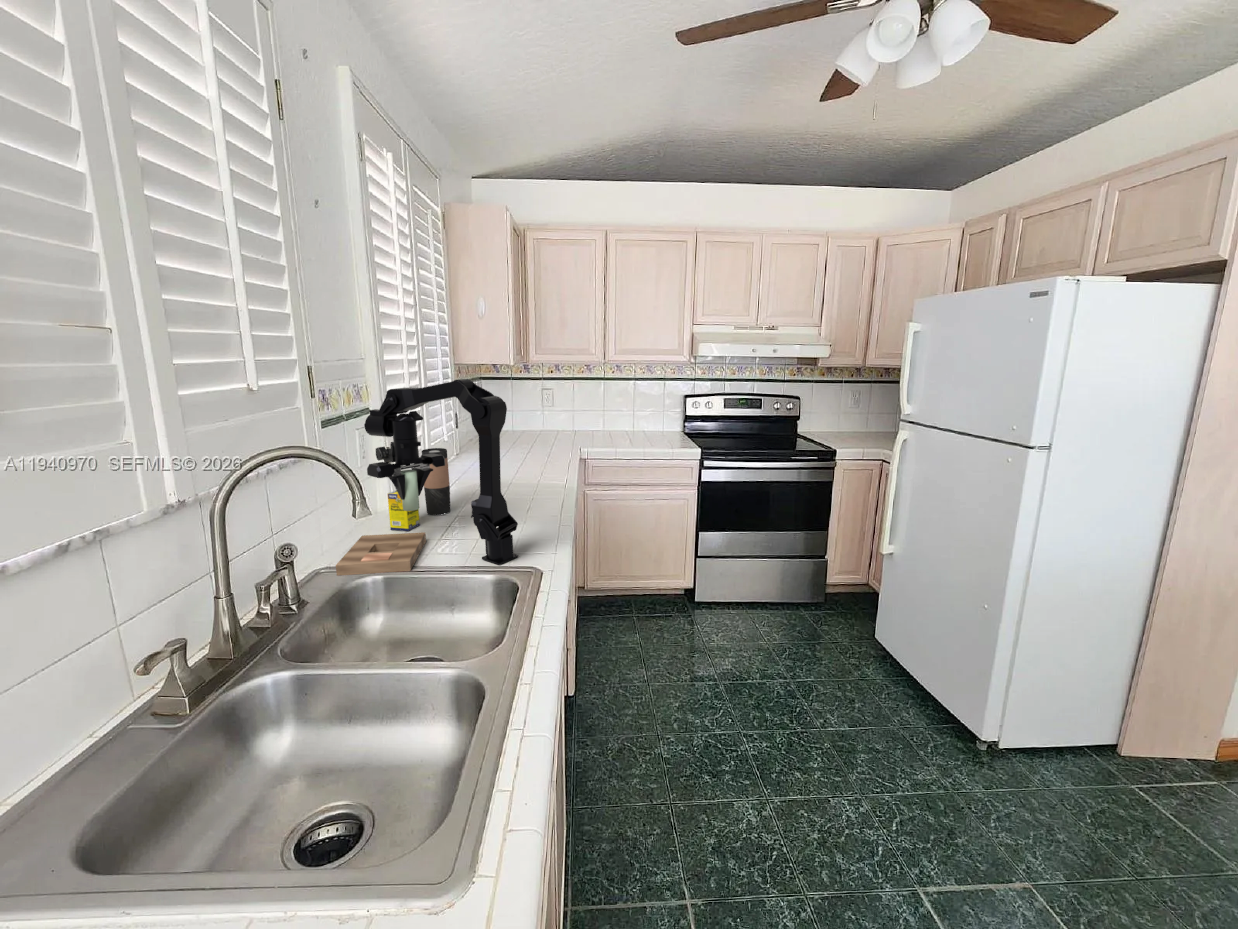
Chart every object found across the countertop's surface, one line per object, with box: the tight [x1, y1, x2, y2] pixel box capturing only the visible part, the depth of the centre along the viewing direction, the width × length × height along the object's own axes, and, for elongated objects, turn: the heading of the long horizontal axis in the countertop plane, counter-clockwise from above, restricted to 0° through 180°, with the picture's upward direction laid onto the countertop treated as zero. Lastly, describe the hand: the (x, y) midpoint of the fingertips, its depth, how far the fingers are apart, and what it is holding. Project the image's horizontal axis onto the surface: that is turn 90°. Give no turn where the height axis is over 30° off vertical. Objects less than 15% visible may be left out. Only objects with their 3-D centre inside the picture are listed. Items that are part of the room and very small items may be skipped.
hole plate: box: [335, 531, 427, 577], centre depth 132 cm, size 20×16×3 cm
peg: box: [401, 469, 421, 511], centre depth 137 cm, size 4×4×10 cm
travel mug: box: [421, 447, 451, 516], centre depth 166 cm, size 8×8×20 cm
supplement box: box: [387, 489, 421, 532], centre depth 153 cm, size 6×6×11 cm
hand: (410, 497), depth 137 cm, fingers closed on peg, 4 cm apart
